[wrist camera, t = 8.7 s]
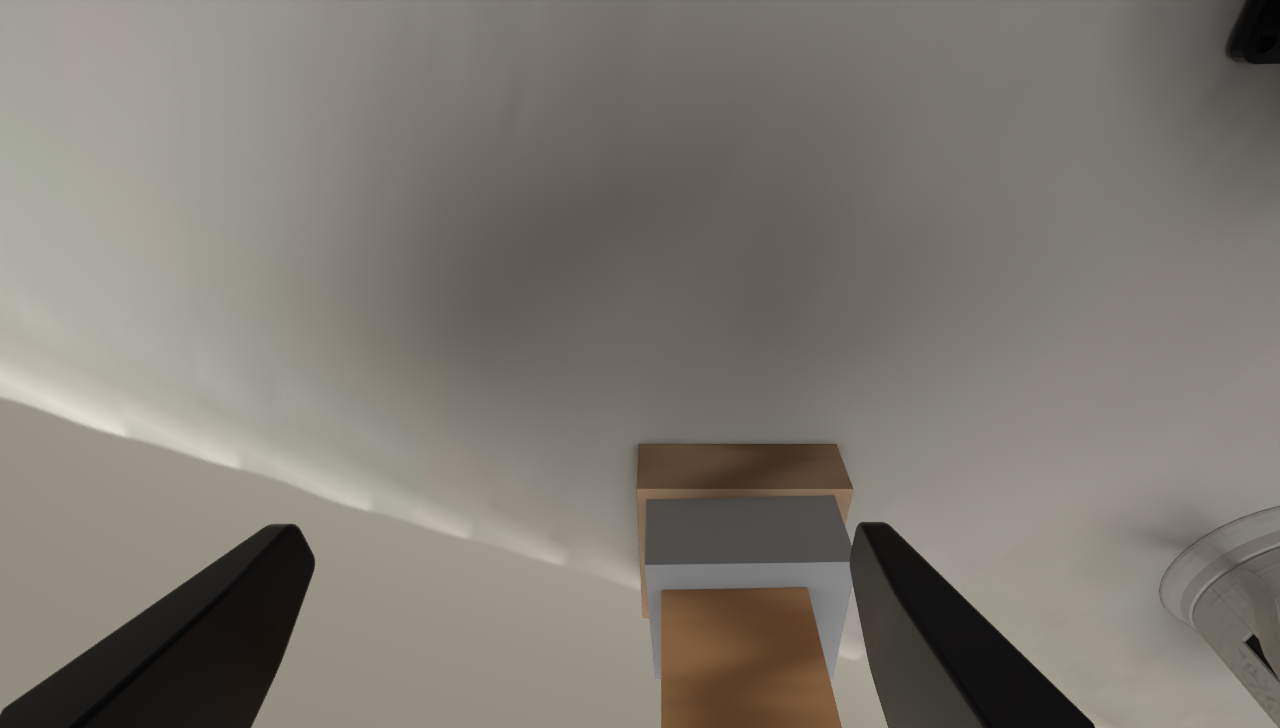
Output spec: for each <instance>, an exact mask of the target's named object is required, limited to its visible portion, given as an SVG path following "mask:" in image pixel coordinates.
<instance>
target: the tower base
mask: <svg viewBox="0 0 1280 728" xmlns="http://www.w3.org/2000/svg"><path fill="white" fill-rule="evenodd" d="M852 493H853V487H852V484H851V482H850V479H849V476H848V474H847V471H846V469H845V466H844V463H843V461H842V458H841V456H840V453H839V450H838V448H837V445H836V444H639V455H638V475H637V504H638V527H639V550H640V573H641V596H642V616H643V617H642V618H649V608H648V597H647V586H646V575H645V536H646V504H647V499H689V498H732V497H775V496H819V495H834V496H835V499H836V502H837V505H838V507H839V510H840V513H841V516H842V519H843V522H844V525H845V523H846V519H847V514H848V510H849V506H850V502H851V497H852Z"/></svg>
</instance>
